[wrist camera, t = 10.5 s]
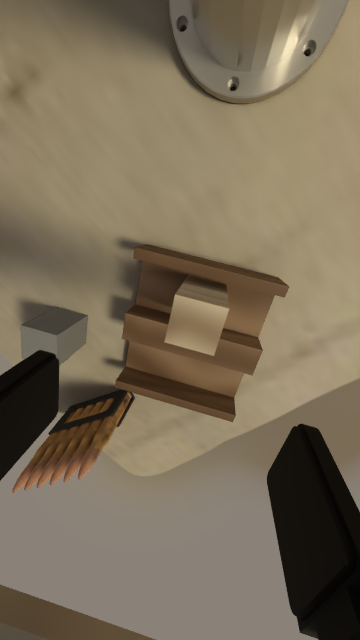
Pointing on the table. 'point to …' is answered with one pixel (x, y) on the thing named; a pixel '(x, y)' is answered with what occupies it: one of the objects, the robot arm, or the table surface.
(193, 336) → the birch block
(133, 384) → the slot rack
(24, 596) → the robot arm
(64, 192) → the table surface
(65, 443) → the ammunition clip
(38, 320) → the rubber block
